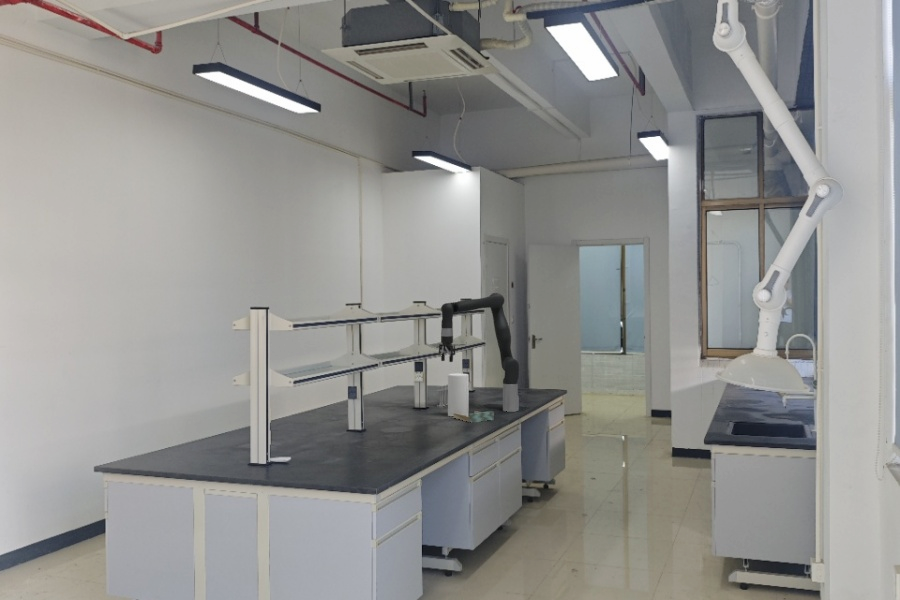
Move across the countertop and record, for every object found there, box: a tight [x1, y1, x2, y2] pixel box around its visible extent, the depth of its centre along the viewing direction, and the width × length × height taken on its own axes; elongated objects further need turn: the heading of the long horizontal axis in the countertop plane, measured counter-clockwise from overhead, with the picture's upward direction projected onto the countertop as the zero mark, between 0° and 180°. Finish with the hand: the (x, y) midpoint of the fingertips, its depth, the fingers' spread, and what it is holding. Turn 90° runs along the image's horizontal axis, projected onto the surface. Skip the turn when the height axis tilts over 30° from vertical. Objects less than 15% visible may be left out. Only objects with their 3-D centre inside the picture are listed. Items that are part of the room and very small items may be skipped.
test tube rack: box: [436, 384, 448, 407], centre depth 516 cm, size 25×4×13 cm, turn 156°
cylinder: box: [447, 372, 470, 417], centre depth 471 cm, size 12×12×25 cm
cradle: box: [453, 410, 495, 424], centre depth 458 cm, size 16×18×5 cm
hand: (446, 361), depth 484 cm, fingers open, 8 cm apart
